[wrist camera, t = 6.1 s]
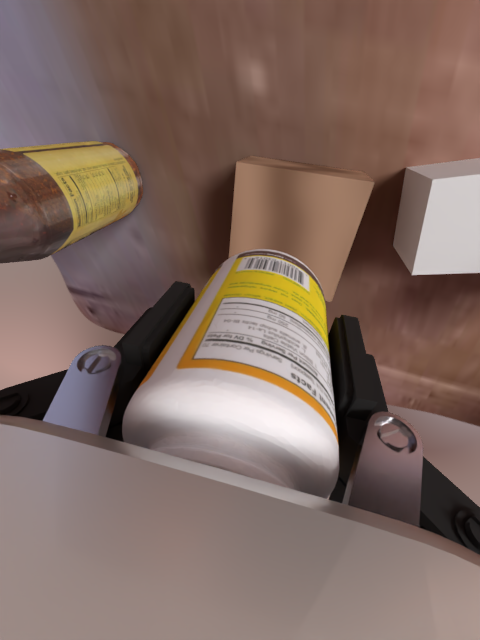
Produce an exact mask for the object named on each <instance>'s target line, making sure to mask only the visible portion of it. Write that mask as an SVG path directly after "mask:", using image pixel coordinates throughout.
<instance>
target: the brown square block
mask: <svg viewBox="0 0 480 640" xmlns="http://www.w3.org/2000/svg"><path fill="white" fill-rule="evenodd" d="M374 183H375V182H374V181H373V180H372V179H371V178H370V177H369V176H368V175H367V174H366V173H365V172H362V171H355V170H348V169H341V168H334V167H327V166H320V165H313V164H306V163H299V162H292V161H285V160H278V159H271V158H264V157H257V156H249V157H247V158H244V159H242V160H240V161H237V162H236V173H235V185H234V198H233V210H232V223H231V235H230V248H229V258H230V257H232V256H234V255H236V254H239V253H241V252H245V251H249V250H255V249H270V250H276V251H280V252H283V253H286V254H289V255H291V256H293V257H295V258H297V259H298V260H300V261H301V262H302V263H304V264H305V265H306V266H307V267H308V268H309V269H310V270H311V271H312V272H313V273H314V275H315V276H316V278H317V279H318V281H319V283H320V285H321V287H322V290H323V293H324V298H325V301H330V302H332V299H333V296H334V293H335V291H336V288H337V285H338V282H339V280H340V277H341V274H342V271H343V269H344V266H345V263H346V260H347V257H348V255H349V252H350V249H351V246H352V244H353V241H354V238H355V235H356V233H357V230H358V227H359V224H360V222H361V219H362V216H363V213H364V211H365V208H366V205H367V202H368V200H369V197H370V194H371V191H372V189H373V186H374Z"/></svg>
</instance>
